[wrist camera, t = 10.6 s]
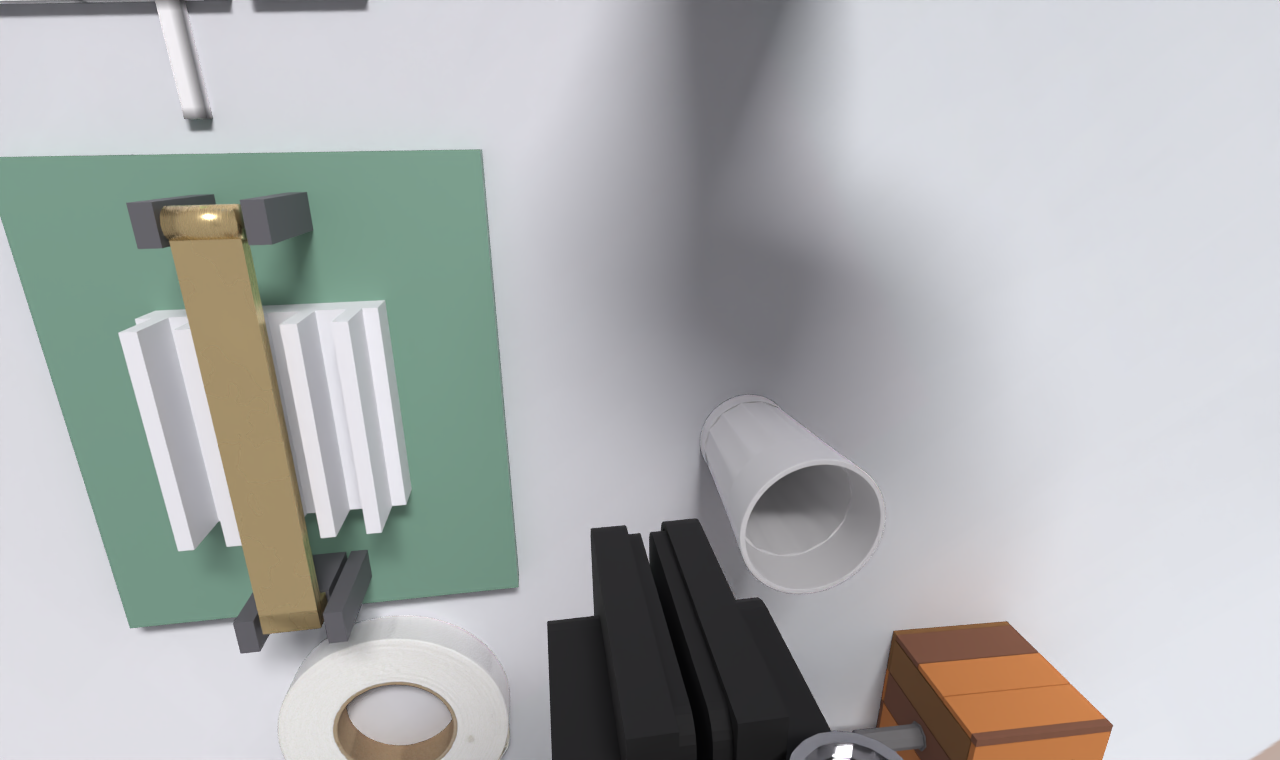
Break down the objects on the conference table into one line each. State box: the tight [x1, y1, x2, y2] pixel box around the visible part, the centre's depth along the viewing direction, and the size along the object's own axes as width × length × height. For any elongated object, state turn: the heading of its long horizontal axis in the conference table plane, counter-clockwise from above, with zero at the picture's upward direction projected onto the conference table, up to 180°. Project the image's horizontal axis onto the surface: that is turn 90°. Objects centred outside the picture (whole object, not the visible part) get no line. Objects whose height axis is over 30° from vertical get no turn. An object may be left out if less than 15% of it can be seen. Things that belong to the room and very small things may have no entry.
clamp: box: [852, 621, 1113, 760], centre depth 49 cm, size 11×20×14 cm, turn 88°
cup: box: [700, 395, 886, 594], centre depth 40 cm, size 8×8×12 cm
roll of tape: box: [278, 615, 510, 760], centre depth 48 cm, size 16×15×3 cm
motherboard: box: [0, 150, 519, 653], centre depth 37 cm, size 28×24×8 cm
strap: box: [160, 204, 328, 634], centre depth 34 cm, size 23×3×2 cm, turn 1°
